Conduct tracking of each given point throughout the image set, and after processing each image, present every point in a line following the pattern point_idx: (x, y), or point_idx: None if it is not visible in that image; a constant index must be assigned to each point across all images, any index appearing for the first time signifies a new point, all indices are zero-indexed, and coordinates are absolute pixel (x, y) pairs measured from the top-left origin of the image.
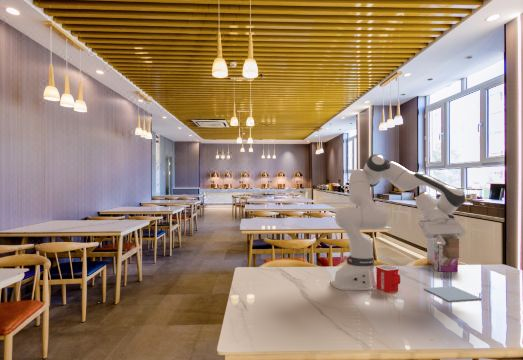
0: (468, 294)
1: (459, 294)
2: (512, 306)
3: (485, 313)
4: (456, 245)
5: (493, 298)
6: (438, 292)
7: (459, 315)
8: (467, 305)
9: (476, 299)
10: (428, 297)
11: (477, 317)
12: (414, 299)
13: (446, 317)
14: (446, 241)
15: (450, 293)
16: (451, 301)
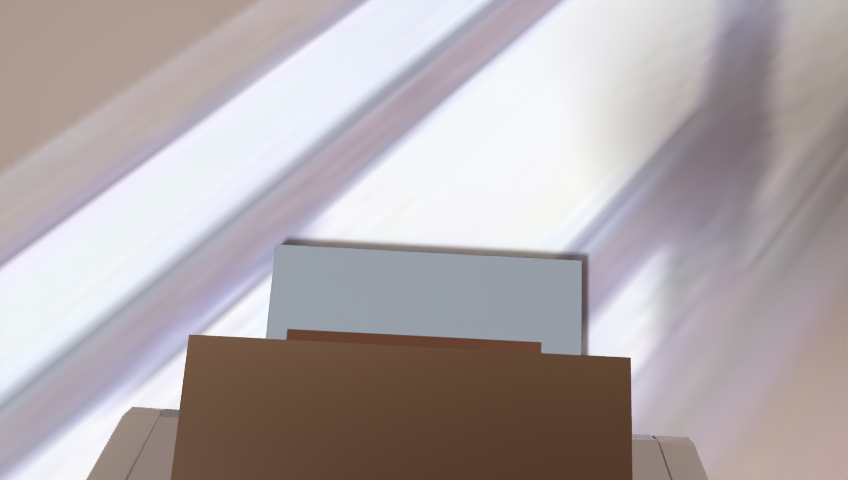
0: None
1: None
2: (177, 93)
3: (484, 40)
4: (353, 335)
5: (151, 249)
6: None
7: (686, 50)
8: (488, 176)
9: (321, 247)
10: (675, 389)
11: (592, 3)
12: (826, 374)
13: (797, 43)
14: None
15: None
16: (554, 261)
